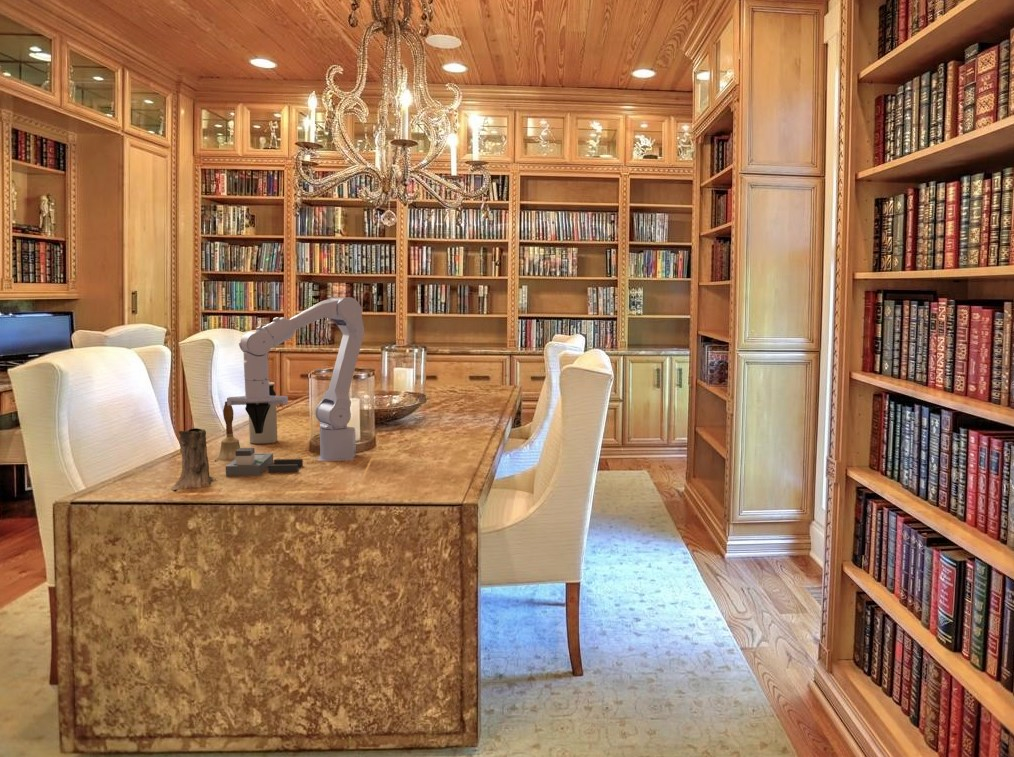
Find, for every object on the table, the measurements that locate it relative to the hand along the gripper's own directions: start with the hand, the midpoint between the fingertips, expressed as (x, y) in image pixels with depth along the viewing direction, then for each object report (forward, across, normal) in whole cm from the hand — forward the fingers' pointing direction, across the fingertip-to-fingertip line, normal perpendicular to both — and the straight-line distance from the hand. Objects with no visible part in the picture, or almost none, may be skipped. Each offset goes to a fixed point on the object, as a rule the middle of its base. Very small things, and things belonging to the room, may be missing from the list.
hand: (259, 432), depth 183 cm
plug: (+10, -2, -5) cm, 11 cm away
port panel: (+10, -2, -1) cm, 10 cm away
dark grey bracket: (+10, +7, -2) cm, 12 cm away
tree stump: (+10, -12, -15) cm, 21 cm away
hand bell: (+10, -11, +13) cm, 20 cm away
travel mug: (+10, -8, +36) cm, 39 cm away
